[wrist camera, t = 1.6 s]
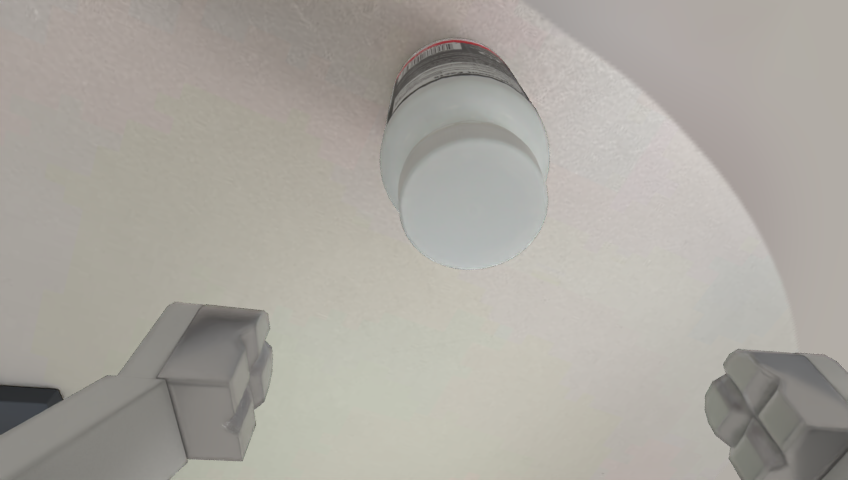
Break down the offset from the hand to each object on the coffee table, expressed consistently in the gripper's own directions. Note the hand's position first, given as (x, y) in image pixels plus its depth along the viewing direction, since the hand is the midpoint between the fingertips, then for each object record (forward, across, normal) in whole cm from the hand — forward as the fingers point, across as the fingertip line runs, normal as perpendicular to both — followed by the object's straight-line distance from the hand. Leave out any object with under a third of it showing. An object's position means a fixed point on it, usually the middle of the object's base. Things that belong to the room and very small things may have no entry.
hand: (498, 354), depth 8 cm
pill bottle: (+15, 0, 0) cm, 15 cm away
